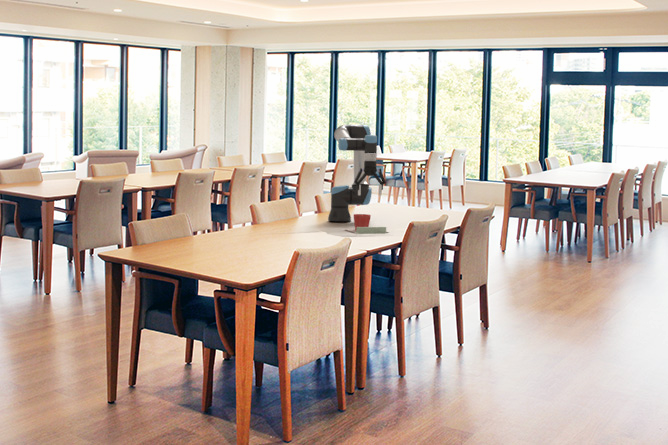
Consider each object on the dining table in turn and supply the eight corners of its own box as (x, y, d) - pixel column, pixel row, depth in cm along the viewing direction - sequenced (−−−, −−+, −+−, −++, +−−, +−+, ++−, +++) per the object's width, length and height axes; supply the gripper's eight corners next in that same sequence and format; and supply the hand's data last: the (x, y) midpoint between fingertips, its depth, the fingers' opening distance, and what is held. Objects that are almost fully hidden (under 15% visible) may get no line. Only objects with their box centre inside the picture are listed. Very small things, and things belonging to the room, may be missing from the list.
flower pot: (370, 229, 477) (371, 214, 477) (369, 231, 467) (370, 215, 466) (353, 229, 478) (354, 213, 478) (352, 230, 468) (352, 214, 467)
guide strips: (344, 230, 469) (344, 229, 469) (378, 230, 476) (378, 229, 476) (353, 233, 452) (353, 232, 452) (388, 232, 458) (388, 232, 458)
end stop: (356, 232, 454) (356, 227, 453) (384, 232, 459) (385, 226, 458) (357, 233, 452) (357, 227, 451) (386, 232, 457) (386, 227, 457)
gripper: (353, 160, 459) (352, 195, 461) (391, 160, 467) (390, 195, 469) (349, 160, 466) (348, 195, 468) (387, 160, 474) (386, 195, 476)
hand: (369, 195), depth 468 cm, fingers open, 13 cm apart
